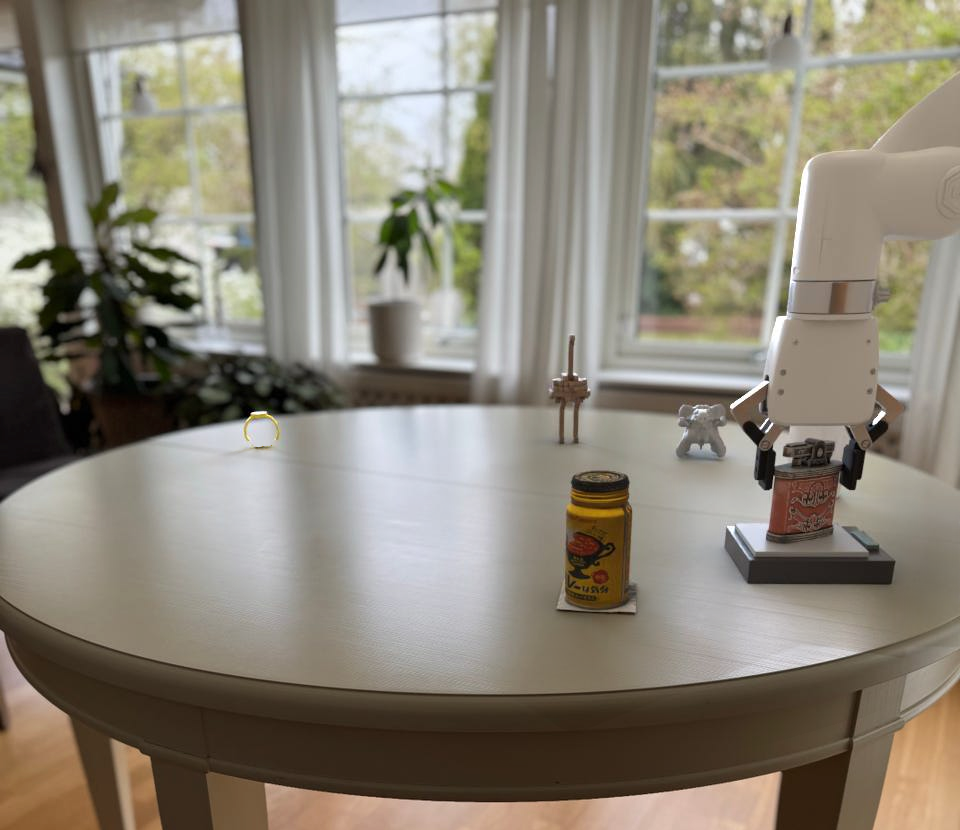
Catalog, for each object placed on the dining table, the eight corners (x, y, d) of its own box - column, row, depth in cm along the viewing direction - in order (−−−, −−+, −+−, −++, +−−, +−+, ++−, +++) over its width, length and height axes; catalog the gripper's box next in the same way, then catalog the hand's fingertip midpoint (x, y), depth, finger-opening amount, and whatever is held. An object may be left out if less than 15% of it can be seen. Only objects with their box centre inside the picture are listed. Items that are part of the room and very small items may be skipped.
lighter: (816, 527, 95) (829, 432, 91) (840, 535, 92) (855, 438, 88) (757, 537, 92) (768, 440, 88) (781, 546, 89) (793, 446, 85)
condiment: (556, 611, 82) (558, 483, 77) (564, 580, 90) (566, 462, 85) (635, 614, 81) (643, 485, 76) (636, 583, 88) (643, 464, 84)
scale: (852, 546, 98) (856, 520, 97) (891, 584, 87) (896, 555, 86) (724, 546, 99) (726, 520, 98) (747, 583, 88) (750, 554, 87)
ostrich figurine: (589, 445, 152) (593, 335, 144) (550, 446, 152) (552, 335, 144) (578, 427, 167) (580, 327, 160) (542, 428, 167) (543, 327, 160)
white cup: (837, 505, 114) (849, 426, 110) (775, 498, 118) (784, 422, 114) (848, 491, 120) (859, 416, 116) (788, 485, 124) (797, 412, 120)
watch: (281, 444, 157) (277, 410, 155) (281, 447, 155) (277, 412, 152) (246, 446, 156) (242, 412, 154) (246, 449, 154) (241, 414, 151)
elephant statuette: (681, 462, 138) (684, 412, 135) (658, 447, 149) (661, 400, 146) (738, 460, 139) (743, 410, 136) (711, 445, 150) (715, 399, 147)
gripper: (910, 298, 86) (880, 478, 93) (727, 301, 87) (712, 478, 94) (942, 302, 79) (907, 496, 86) (743, 305, 80) (725, 496, 87)
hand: (805, 486), depth 90 cm, fingers closed on lighter, 7 cm apart
